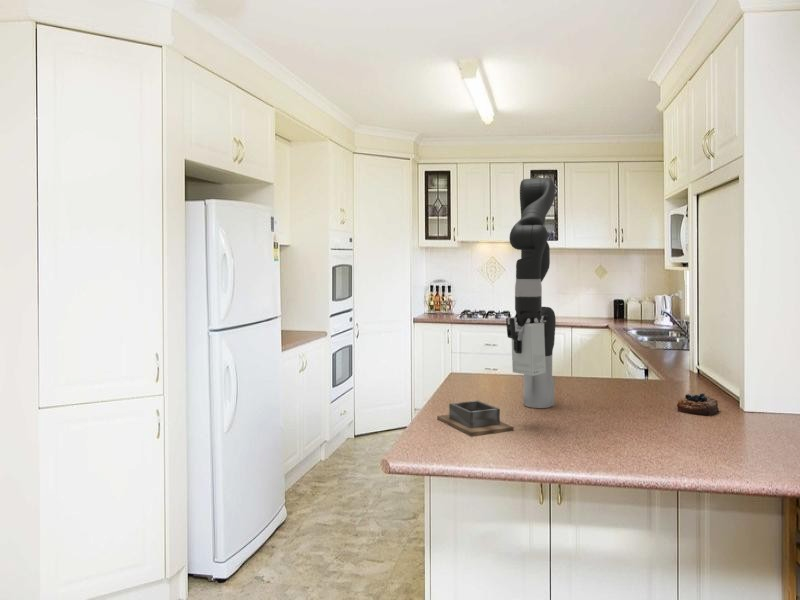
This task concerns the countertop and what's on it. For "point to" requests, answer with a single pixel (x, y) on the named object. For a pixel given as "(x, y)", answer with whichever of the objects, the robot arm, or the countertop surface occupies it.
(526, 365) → the skincare box
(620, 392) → the countertop surface
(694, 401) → the pastry
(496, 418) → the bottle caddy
